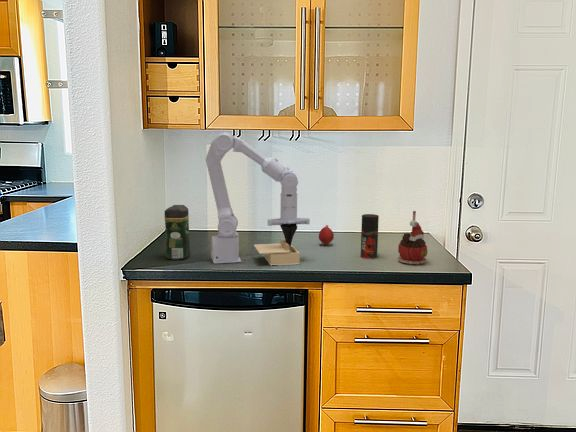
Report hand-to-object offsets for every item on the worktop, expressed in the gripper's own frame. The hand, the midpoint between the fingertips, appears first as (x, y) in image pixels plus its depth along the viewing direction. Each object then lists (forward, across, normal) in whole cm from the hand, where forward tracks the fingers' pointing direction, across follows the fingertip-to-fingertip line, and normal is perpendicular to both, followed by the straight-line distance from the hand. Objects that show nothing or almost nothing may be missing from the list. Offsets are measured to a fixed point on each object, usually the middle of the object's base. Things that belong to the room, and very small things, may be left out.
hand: (288, 245), depth 192 cm
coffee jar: (+6, -38, +12) cm, 40 cm away
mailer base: (+5, -2, 0) cm, 6 cm away
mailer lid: (+1, -6, 0) cm, 6 cm away
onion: (+6, +20, +19) cm, 28 cm away
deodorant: (+6, +30, -1) cm, 30 cm away
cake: (+6, +42, -11) cm, 43 cm away
